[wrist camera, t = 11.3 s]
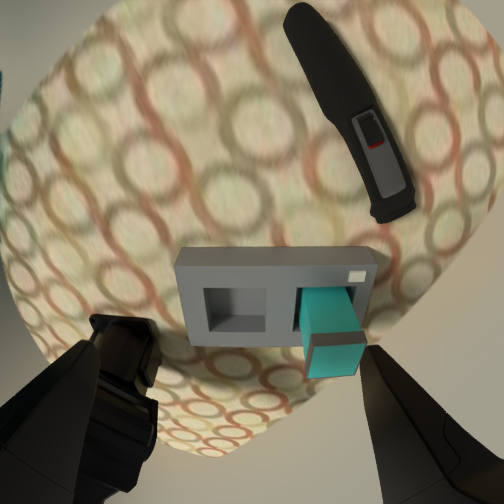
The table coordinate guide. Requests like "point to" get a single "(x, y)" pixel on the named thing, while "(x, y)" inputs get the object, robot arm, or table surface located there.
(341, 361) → the plug
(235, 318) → the grey flat block
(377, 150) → the electric trimmer
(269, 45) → the table surface
